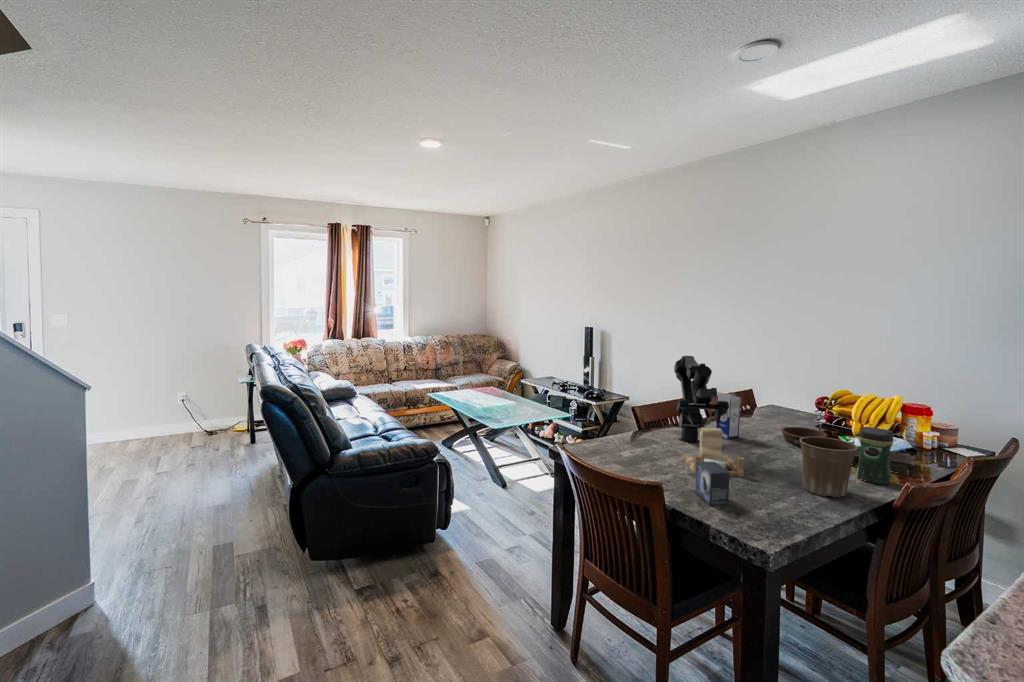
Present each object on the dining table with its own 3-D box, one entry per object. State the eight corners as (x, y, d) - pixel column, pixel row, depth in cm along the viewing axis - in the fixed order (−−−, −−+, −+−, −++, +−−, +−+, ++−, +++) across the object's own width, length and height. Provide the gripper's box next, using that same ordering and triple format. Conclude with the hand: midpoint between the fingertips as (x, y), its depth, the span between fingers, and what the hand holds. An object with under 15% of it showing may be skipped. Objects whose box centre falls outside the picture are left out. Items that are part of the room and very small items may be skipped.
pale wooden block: (698, 464, 198) (700, 427, 197) (717, 465, 198) (719, 428, 196) (700, 467, 195) (702, 430, 193) (720, 468, 194) (722, 430, 193)
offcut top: (703, 462, 192) (703, 458, 192) (724, 465, 190) (724, 460, 190) (704, 465, 189) (704, 461, 188) (725, 468, 186) (725, 463, 186)
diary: (833, 452, 218) (834, 440, 217) (909, 465, 203) (910, 452, 203) (828, 463, 203) (829, 450, 203) (910, 477, 188) (911, 464, 188)
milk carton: (715, 435, 239) (717, 391, 237) (726, 433, 242) (728, 390, 240) (727, 439, 233) (730, 394, 231) (739, 437, 235) (741, 393, 233)
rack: (683, 460, 202) (684, 443, 201) (728, 462, 200) (729, 444, 200) (694, 476, 185) (695, 456, 184) (743, 478, 183) (744, 459, 183)
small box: (693, 492, 170) (695, 461, 169) (713, 492, 171) (714, 460, 170) (708, 506, 160) (710, 472, 159) (729, 505, 160) (731, 472, 159)
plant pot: (809, 478, 185) (812, 433, 183) (861, 492, 172) (865, 444, 170) (787, 489, 174) (790, 441, 173) (841, 505, 162) (845, 453, 160)
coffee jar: (892, 482, 182) (897, 429, 181) (886, 487, 177) (890, 433, 175) (860, 474, 190) (864, 423, 188) (853, 479, 184) (857, 427, 183)
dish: (776, 445, 226) (777, 433, 225) (783, 434, 244) (784, 423, 243) (823, 452, 216) (824, 440, 215) (827, 440, 234) (828, 429, 233)
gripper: (679, 379, 207) (684, 413, 197) (729, 380, 205) (736, 415, 195) (674, 395, 216) (679, 428, 206) (722, 396, 214) (729, 430, 204)
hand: (705, 425), depth 203 cm, fingers open, 9 cm apart
